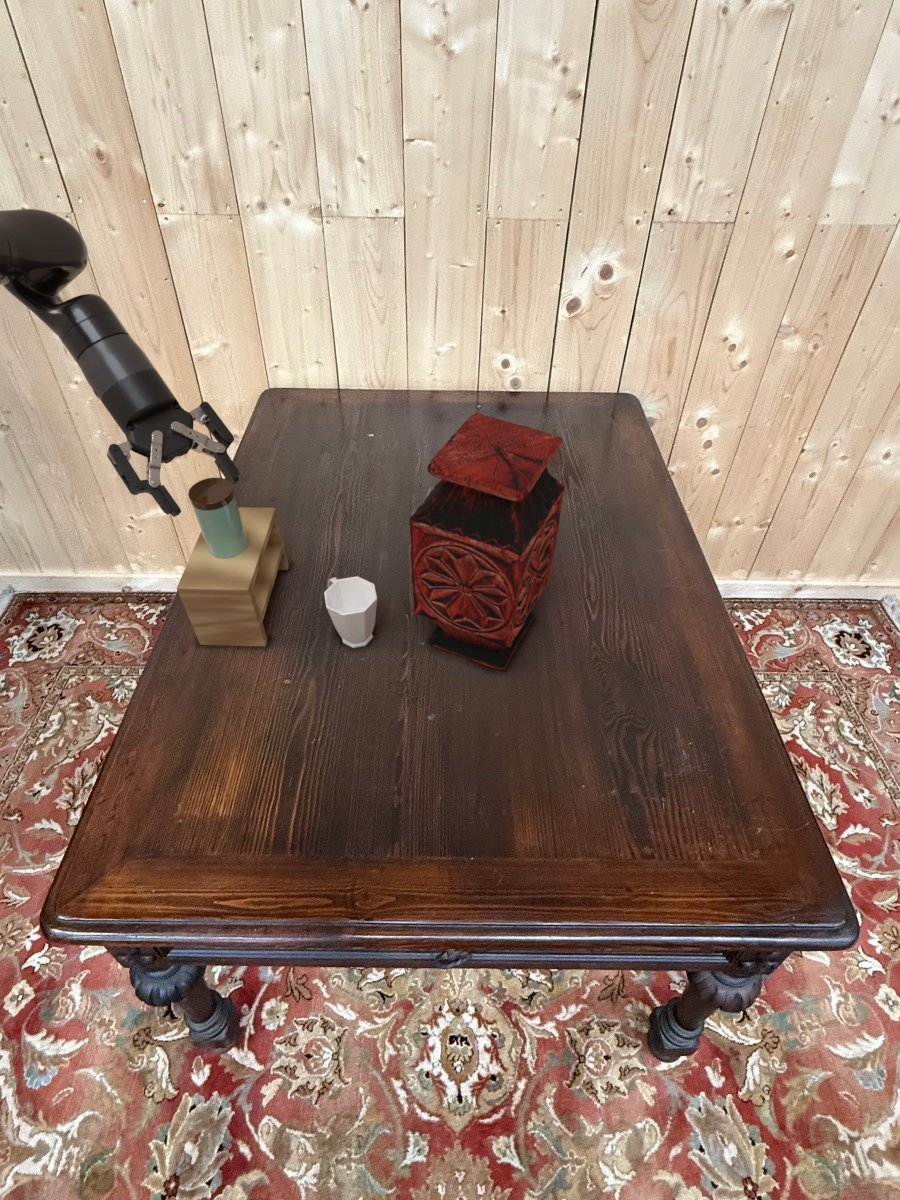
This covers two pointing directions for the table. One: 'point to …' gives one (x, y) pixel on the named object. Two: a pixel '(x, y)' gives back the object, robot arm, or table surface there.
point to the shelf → (234, 584)
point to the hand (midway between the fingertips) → (207, 498)
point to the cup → (352, 609)
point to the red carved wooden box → (486, 537)
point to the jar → (218, 517)
